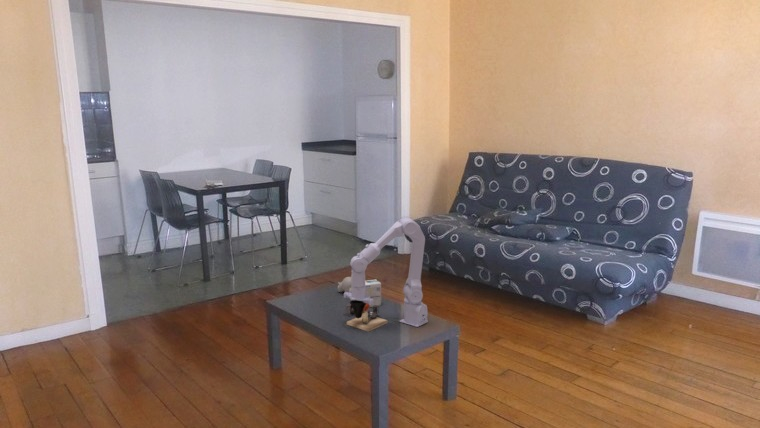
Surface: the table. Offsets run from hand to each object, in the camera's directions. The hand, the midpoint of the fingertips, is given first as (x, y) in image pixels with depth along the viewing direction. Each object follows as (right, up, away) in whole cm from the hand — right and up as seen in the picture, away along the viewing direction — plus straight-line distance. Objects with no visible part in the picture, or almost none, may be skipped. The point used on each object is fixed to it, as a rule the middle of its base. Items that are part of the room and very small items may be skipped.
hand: (358, 317), depth 234 cm
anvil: (-4, -1, +15) cm, 15 cm away
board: (+4, -3, +3) cm, 5 cm away
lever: (+5, -1, +5) cm, 7 cm away
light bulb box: (+3, +1, +26) cm, 26 cm away
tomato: (0, -1, +14) cm, 14 cm away
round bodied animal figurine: (-7, +4, +41) cm, 42 cm away
